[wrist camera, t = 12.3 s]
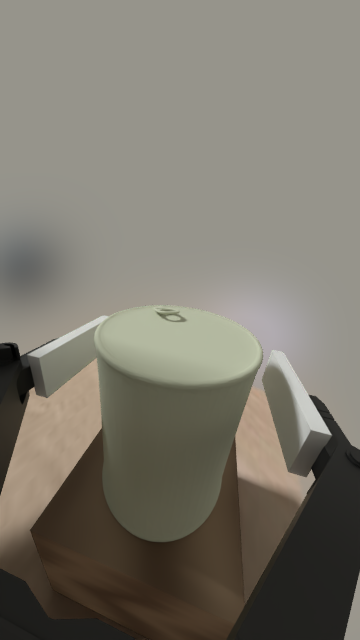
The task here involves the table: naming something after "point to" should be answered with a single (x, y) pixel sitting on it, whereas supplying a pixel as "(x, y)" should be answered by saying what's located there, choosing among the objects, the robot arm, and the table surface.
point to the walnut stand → (143, 560)
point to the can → (170, 413)
